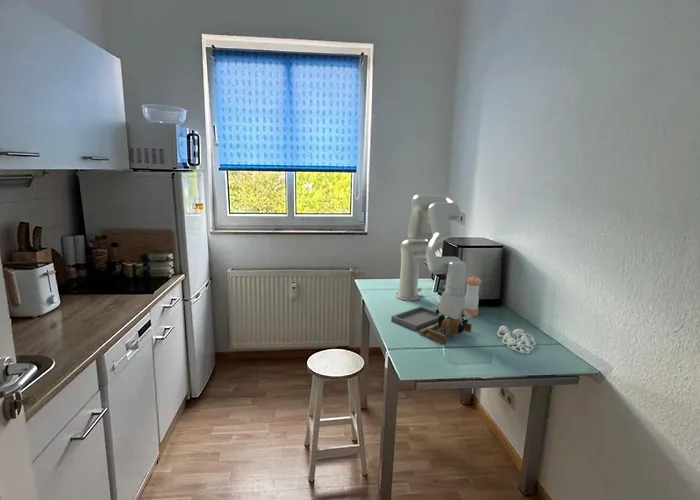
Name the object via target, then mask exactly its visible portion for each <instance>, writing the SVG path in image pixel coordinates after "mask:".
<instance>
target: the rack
mask: <svg viewBox="0 0 700 500" xmlns="http://www.w3.org/2000/svg"><path fill="white" fill-rule="evenodd" d="M472 326H473V324H472V323H470V322H467V323H466V324H465V326H464V331H463V332H466V333H471V332H472V328H473V327H472ZM439 329H440V330H441V326H438V323H436V324H433V325H431V326H428V327H426V328H423V329H421V330H419V335H420V336H422V337H423V336H425V335H426V336H427V337H426V338H427V339H429V340H431V341H434V342H436V343H439V344H441V345H446V344H447V338H446V337H447V336H446V335H444V334H441V332H439V331H437V330H439Z"/></svg>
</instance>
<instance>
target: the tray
mask: <svg viewBox="0 0 700 500" xmlns="http://www.w3.org/2000/svg"><path fill="white" fill-rule="evenodd" d="M437 315H438V314H437V313H436V310H433V309H430V308H428V307H425V306H422V305H420V306H417V307H415V308H410V309H407V310H405V311H402V312H399V313H396V314H393V315H391V320H390V322H392V323H395V324H397V325H400V326H401V327H405V328H407V329H410V330H411V331H414V332H418V331H420V330H422V329H424V328H427V327H429V326H432V325H434V324H437V323H438V318H439V317H438V316H437ZM443 316H444V315H443ZM445 318H446V316H444V319H445Z"/></svg>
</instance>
